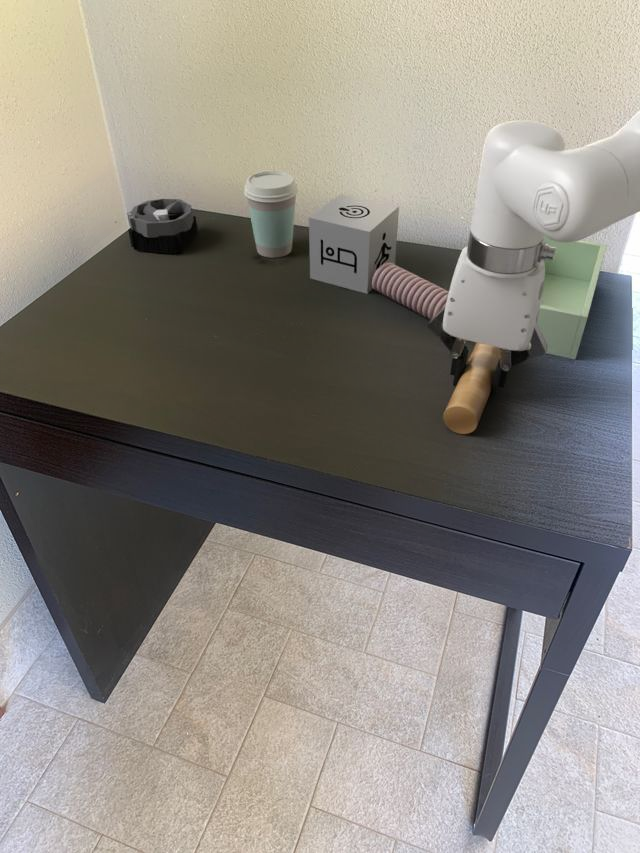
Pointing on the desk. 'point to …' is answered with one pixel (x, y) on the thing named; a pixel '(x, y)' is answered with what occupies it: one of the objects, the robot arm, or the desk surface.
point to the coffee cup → (272, 211)
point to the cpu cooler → (162, 226)
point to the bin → (568, 294)
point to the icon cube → (352, 241)
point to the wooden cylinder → (472, 390)
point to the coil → (409, 290)
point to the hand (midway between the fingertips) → (476, 383)
